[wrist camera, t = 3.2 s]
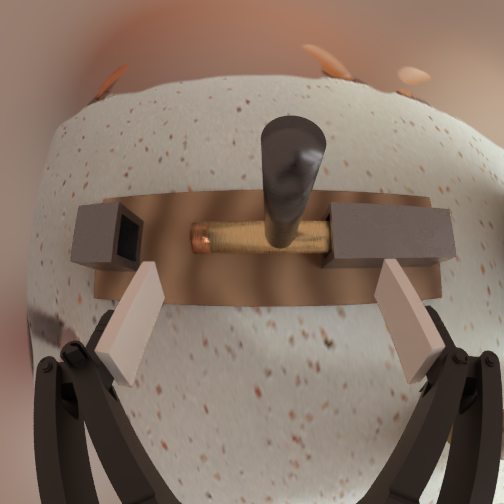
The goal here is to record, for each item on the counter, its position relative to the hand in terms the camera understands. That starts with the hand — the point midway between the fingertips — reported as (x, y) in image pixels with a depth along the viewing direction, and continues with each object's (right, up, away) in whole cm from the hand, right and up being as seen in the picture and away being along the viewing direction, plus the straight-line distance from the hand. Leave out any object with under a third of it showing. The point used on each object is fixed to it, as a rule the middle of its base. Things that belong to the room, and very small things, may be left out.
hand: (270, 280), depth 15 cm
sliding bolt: (+6, +3, +14) cm, 16 cm away
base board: (+1, +2, +18) cm, 18 cm away
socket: (-18, +2, +18) cm, 25 cm away
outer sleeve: (+14, +2, +16) cm, 22 cm away
